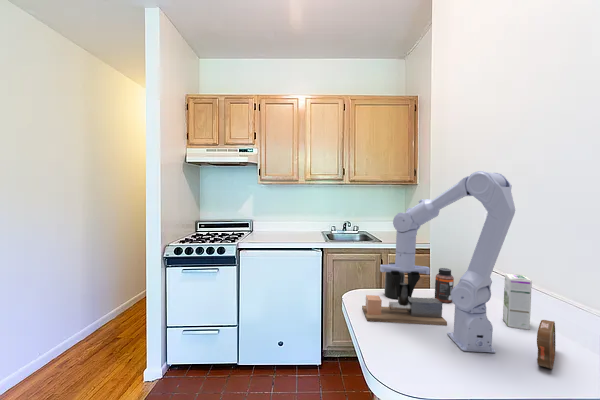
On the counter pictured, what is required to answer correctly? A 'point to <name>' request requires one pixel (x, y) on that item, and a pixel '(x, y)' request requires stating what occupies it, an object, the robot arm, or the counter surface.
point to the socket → (373, 304)
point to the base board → (401, 317)
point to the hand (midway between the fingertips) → (403, 295)
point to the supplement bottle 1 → (391, 284)
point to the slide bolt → (402, 299)
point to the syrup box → (517, 301)
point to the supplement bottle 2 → (444, 285)
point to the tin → (546, 344)
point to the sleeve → (425, 307)
